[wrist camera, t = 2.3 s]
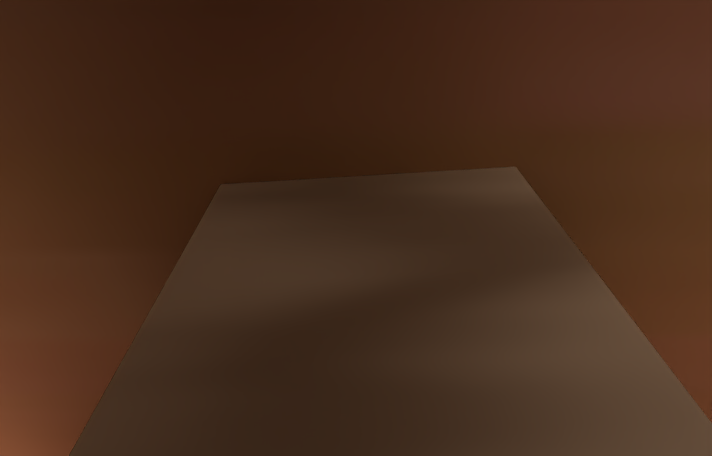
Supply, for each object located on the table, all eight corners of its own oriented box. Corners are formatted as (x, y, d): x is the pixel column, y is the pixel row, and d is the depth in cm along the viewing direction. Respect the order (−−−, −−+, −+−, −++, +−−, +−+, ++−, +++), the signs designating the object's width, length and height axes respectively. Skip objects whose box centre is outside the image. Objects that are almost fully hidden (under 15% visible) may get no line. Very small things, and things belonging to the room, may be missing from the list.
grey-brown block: (514, 165, 8) (822, 568, 3) (489, 374, 10) (625, 786, 5) (221, 183, 8) (-13, 601, 3) (267, 385, 11) (186, 799, 5)
